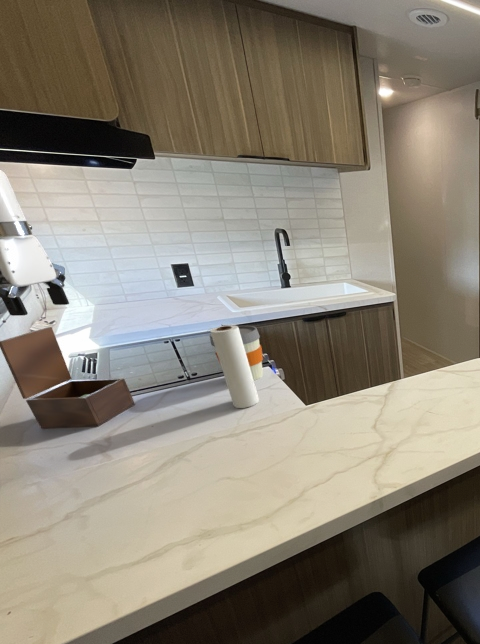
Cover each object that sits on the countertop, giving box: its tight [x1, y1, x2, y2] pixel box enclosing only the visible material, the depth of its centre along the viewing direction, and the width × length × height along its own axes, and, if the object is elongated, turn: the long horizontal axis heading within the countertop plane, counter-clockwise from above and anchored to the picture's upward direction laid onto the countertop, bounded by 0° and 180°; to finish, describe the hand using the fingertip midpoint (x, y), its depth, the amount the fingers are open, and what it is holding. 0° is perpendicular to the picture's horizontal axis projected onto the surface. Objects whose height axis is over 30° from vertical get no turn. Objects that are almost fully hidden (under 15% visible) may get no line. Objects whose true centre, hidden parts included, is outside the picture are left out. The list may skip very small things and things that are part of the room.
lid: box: [0, 326, 73, 400], centre depth 97 cm, size 14×12×1 cm
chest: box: [25, 378, 136, 429], centre depth 102 cm, size 14×12×8 cm
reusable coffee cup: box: [208, 325, 264, 382], centre depth 122 cm, size 13×13×15 cm
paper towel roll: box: [209, 324, 260, 409], centre depth 105 cm, size 7×6×21 cm
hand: (41, 309), depth 92 cm, fingers open, 9 cm apart
